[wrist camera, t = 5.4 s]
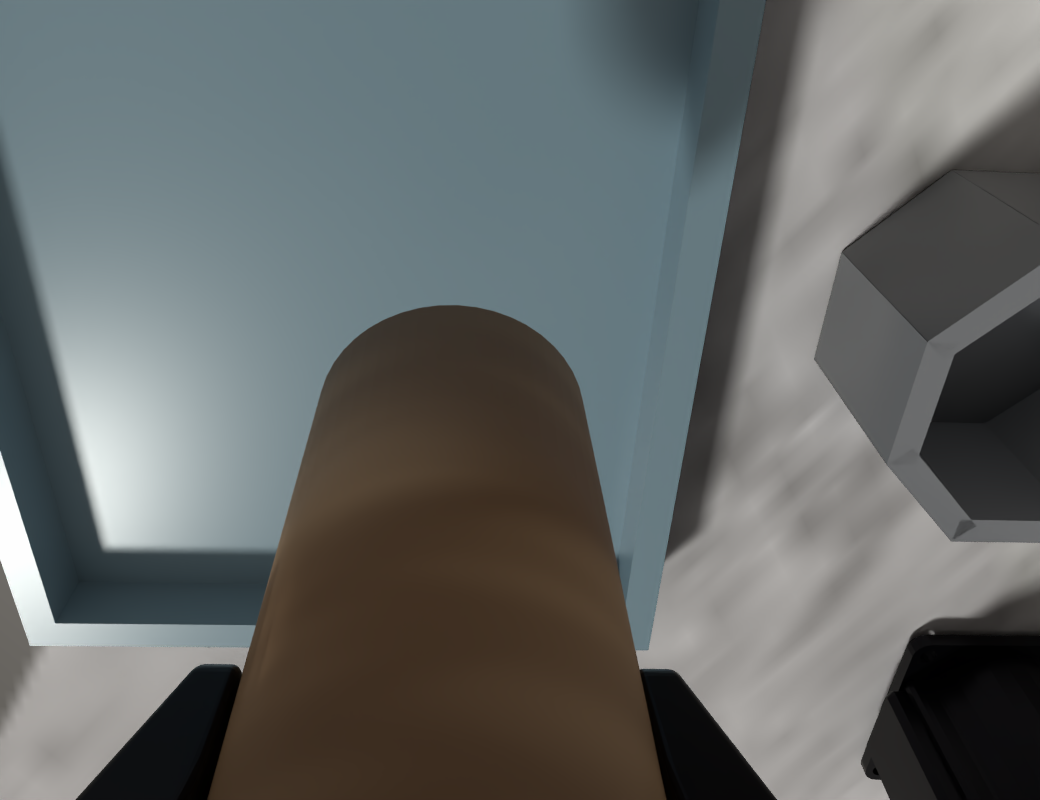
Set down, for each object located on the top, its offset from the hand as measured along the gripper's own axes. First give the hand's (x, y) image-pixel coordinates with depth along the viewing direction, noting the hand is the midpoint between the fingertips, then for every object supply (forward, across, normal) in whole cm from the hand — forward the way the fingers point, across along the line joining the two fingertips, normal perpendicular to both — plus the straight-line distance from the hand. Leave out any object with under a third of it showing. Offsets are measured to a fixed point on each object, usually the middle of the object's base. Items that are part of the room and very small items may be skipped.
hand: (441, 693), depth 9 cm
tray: (+12, +3, 0) cm, 13 cm away
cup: (+12, -12, +1) cm, 17 cm away
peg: (+5, 0, 0) cm, 5 cm away
